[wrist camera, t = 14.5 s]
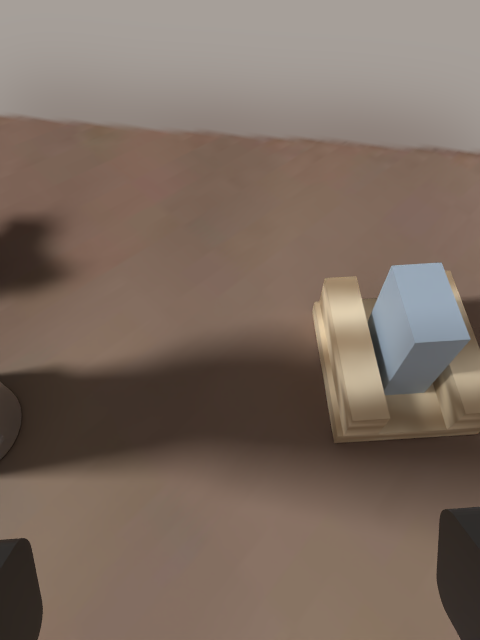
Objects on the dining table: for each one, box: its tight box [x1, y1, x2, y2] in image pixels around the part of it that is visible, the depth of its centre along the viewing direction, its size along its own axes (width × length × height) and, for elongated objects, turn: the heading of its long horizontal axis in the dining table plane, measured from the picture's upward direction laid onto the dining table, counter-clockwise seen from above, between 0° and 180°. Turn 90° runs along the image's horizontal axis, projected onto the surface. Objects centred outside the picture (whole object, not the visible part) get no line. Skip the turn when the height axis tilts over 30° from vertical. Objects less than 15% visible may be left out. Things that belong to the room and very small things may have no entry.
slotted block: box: [312, 271, 480, 443], centre depth 41 cm, size 14×13×6 cm
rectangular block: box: [367, 263, 471, 395], centre depth 38 cm, size 7×4×10 cm, turn 4°
